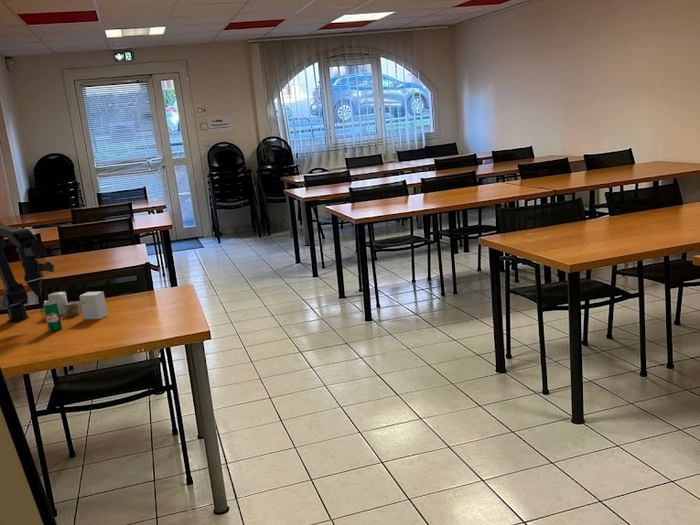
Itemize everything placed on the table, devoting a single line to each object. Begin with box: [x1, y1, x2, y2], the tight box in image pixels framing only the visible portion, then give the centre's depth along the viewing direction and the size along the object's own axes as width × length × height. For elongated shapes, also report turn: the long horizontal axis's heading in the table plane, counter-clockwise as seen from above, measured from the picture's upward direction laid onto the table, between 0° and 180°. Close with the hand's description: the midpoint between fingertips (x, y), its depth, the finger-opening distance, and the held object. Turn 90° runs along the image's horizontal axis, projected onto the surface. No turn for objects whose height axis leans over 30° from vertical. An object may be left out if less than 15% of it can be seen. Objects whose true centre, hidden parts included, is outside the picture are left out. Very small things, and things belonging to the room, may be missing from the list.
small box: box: [79, 290, 109, 320], centre depth 273 cm, size 8×6×10 cm
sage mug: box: [47, 291, 69, 317], centre depth 285 cm, size 8×7×9 cm
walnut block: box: [65, 300, 83, 317], centre depth 282 cm, size 5×5×5 cm
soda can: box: [42, 299, 63, 332], centre depth 260 cm, size 5×5×12 cm
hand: (40, 296), depth 267 cm, fingers open, 9 cm apart
